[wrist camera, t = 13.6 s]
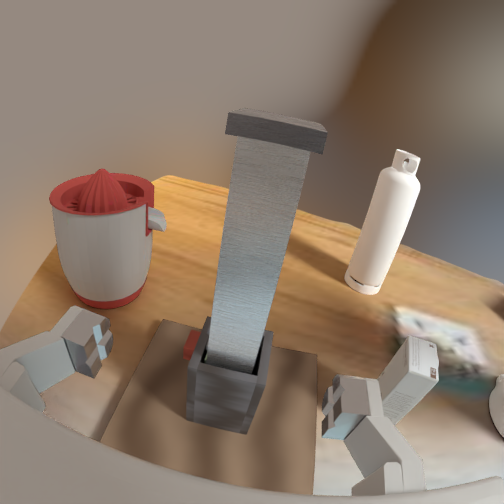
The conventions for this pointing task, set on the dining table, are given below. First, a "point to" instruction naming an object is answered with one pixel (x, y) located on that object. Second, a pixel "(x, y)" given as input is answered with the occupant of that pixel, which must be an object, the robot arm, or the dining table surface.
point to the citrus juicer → (105, 235)
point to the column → (256, 228)
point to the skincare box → (408, 377)
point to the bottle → (384, 224)
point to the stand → (221, 413)
